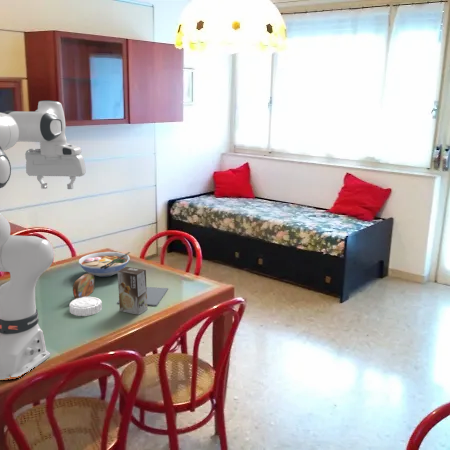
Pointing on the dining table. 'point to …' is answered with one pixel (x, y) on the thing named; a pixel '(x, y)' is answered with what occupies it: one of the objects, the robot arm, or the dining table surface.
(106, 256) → the ramen bowl
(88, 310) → the mooncake
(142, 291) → the coffee box
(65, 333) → the dining table surface
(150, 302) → the mat
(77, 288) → the tin
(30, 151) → the robot arm
